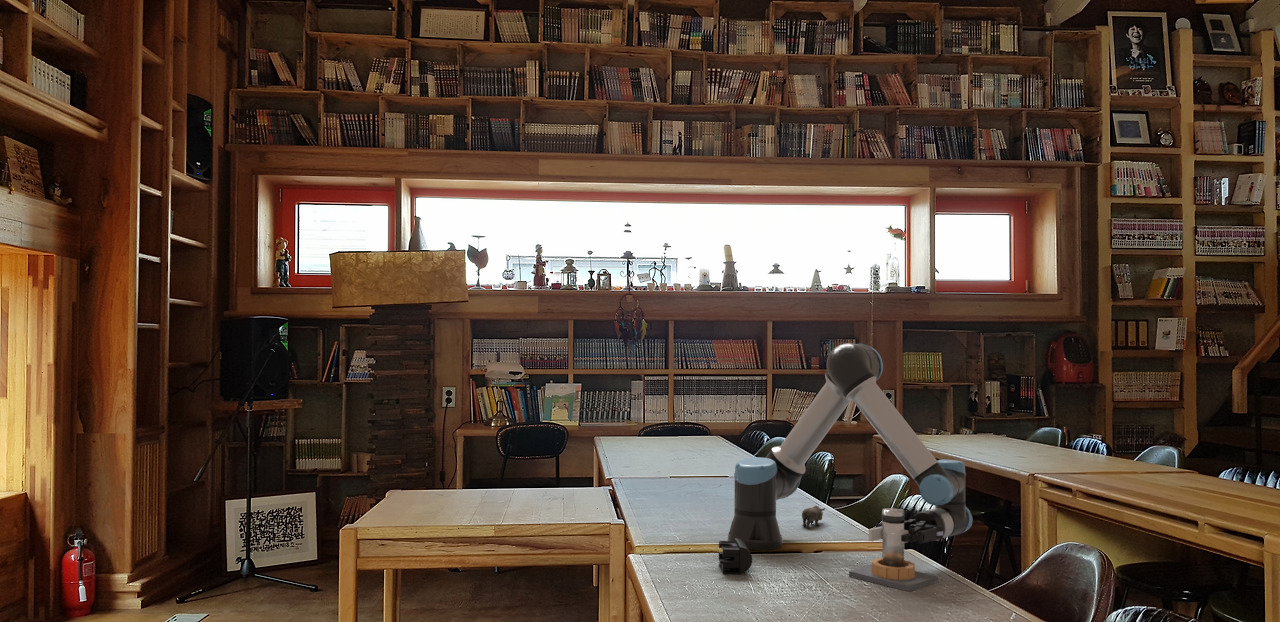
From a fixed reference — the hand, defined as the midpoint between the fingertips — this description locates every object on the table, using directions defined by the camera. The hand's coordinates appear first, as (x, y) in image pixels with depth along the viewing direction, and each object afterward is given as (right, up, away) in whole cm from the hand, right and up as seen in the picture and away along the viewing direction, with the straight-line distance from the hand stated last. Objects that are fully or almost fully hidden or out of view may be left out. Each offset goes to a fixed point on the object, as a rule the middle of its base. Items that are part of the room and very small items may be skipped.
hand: (881, 537), depth 190 cm
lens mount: (+4, -11, +3) cm, 12 cm away
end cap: (-33, -11, +9) cm, 36 cm away
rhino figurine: (-2, -14, +64) cm, 66 cm away
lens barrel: (+4, -8, +3) cm, 10 cm away
